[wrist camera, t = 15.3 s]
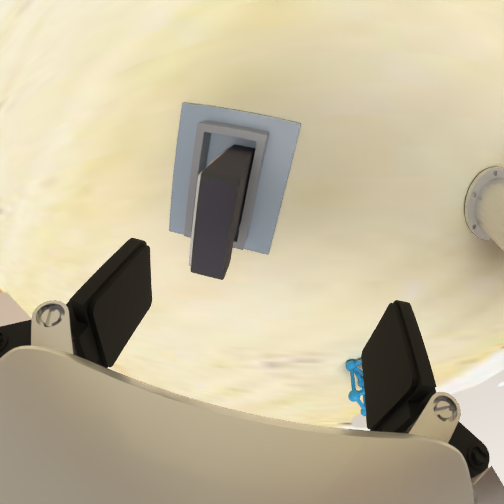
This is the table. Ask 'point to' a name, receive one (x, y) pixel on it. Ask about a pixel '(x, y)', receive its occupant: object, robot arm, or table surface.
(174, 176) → the desk holder
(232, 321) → the table surface
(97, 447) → the robot arm
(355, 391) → the molecular structure
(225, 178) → the multicoloured piece
